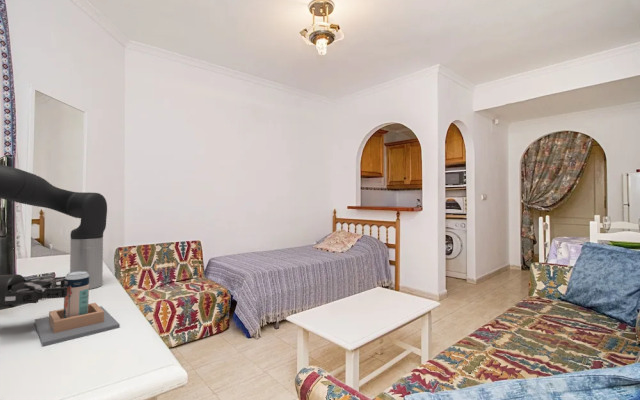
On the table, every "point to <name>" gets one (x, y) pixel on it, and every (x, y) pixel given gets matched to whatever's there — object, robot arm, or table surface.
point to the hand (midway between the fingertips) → (75, 287)
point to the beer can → (76, 294)
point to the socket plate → (74, 325)
